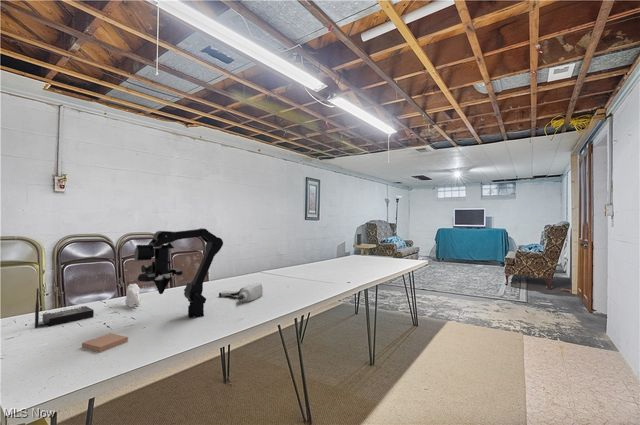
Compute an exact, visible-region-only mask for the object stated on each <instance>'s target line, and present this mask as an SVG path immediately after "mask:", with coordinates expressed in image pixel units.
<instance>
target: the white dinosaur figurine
mask: <svg viewBox="0 0 640 425" xmlns="http://www.w3.org/2000/svg"><path fill="white" fill-rule="evenodd" d="M140 294H141V288H140V287H139V285H138V284H137V283H135V282H134V283H129V285H128V286H127V288H126V296H125V302H124V303H125V305H126V306H127V307H129V308H134V306H135V305H136V307H140V306H141V305H142V297H141V295H140Z"/></svg>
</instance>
